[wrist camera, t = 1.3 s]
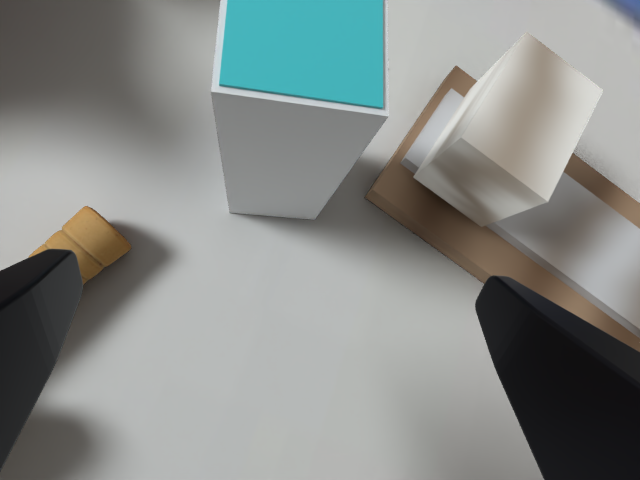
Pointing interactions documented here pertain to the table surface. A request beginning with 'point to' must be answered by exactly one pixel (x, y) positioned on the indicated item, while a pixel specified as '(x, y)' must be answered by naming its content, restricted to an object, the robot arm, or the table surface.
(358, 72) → the logic module
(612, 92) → the table surface
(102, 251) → the kendama
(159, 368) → the table surface
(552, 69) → the rail board
